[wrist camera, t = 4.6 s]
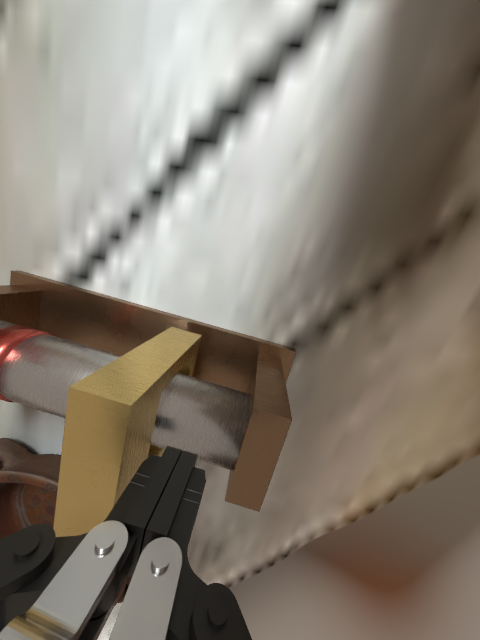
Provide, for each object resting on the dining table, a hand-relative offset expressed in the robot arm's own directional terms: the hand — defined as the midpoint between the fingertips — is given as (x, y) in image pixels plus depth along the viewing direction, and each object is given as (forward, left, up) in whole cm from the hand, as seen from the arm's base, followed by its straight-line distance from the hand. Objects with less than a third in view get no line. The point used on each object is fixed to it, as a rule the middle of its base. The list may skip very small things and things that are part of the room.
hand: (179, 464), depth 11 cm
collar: (0, -3, -8) cm, 8 cm away
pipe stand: (0, -7, -11) cm, 13 cm away
